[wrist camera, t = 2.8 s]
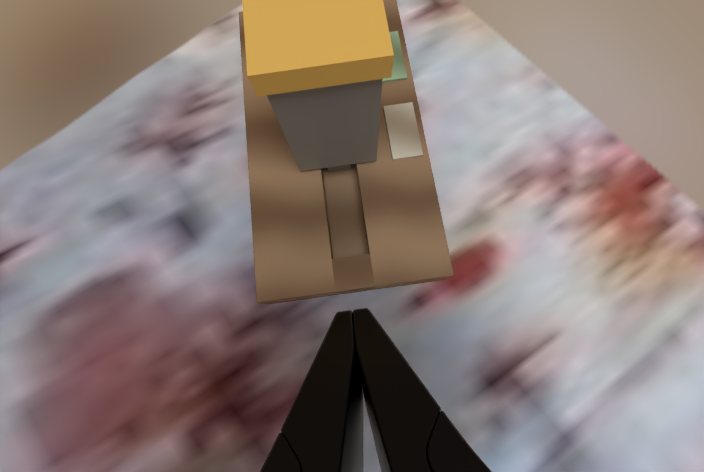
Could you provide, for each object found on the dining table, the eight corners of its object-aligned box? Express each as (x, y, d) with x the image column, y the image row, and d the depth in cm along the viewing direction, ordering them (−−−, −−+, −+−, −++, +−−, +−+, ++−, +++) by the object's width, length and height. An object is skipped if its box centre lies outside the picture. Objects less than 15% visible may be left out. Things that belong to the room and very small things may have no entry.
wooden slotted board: (443, 279, 22) (454, 275, 20) (268, 304, 22) (255, 302, 20) (391, 18, 27) (394, -13, 25) (249, 38, 27) (237, 9, 25)
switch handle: (380, 175, 23) (393, 55, 12) (301, 186, 23) (247, 75, 12) (370, 117, 24) (375, -38, 13) (295, 128, 24) (240, -19, 13)
